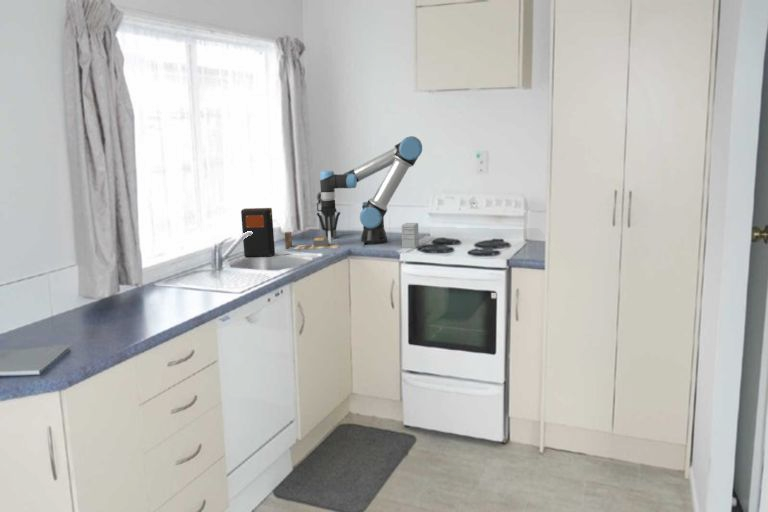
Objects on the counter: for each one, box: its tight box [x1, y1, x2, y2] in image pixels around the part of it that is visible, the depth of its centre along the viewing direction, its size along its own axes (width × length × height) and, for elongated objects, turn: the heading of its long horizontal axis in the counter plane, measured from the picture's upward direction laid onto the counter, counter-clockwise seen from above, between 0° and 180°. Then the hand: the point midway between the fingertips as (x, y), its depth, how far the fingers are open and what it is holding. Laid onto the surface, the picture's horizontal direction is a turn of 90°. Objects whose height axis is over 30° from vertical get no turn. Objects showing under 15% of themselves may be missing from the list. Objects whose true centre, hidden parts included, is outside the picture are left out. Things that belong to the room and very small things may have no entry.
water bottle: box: [316, 191, 337, 240], centre depth 406 cm, size 10×10×28 cm
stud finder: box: [313, 237, 330, 247], centre depth 377 cm, size 8×4×4 cm, turn 86°
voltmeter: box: [240, 207, 276, 258], centre depth 359 cm, size 16×9×25 cm, turn 84°
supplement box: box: [401, 222, 420, 249], centre depth 369 cm, size 7×7×13 cm
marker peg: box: [284, 232, 293, 250], centre depth 378 cm, size 3×3×9 cm
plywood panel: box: [293, 243, 341, 250], centre depth 375 cm, size 24×12×1 cm, turn 86°
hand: (329, 242), depth 377 cm, fingers closed
